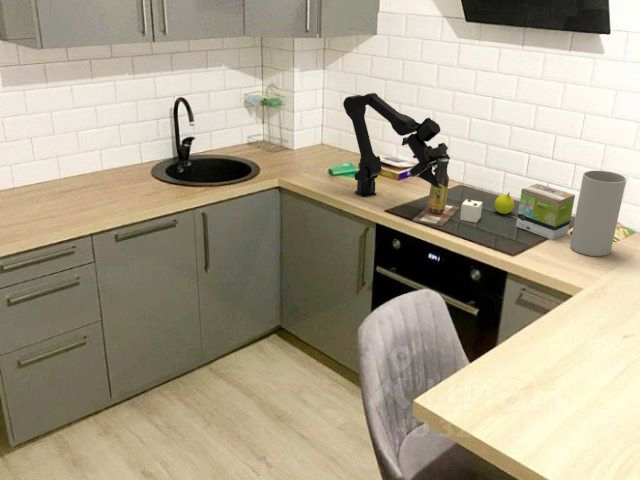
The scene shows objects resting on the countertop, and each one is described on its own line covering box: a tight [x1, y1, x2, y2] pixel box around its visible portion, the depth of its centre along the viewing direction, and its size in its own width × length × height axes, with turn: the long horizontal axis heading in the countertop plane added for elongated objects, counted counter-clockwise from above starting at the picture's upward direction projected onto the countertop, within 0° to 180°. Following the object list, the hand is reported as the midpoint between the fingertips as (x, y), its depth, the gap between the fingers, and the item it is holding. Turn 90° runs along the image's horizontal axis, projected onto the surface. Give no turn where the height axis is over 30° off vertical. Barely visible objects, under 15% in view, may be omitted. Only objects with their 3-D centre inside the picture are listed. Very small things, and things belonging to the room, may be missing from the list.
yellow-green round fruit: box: [494, 191, 515, 215], centre depth 237 cm, size 7×7×10 cm
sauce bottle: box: [427, 158, 450, 213], centre depth 232 cm, size 6×6×20 cm
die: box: [459, 198, 484, 223], centre depth 232 cm, size 6×6×7 cm
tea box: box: [515, 183, 576, 241], centre depth 221 cm, size 15×10×15 cm
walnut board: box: [412, 204, 460, 228], centre depth 236 cm, size 21×11×1 cm, turn 152°
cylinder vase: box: [569, 170, 627, 257], centre depth 205 cm, size 12×12×25 cm
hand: (442, 184), depth 231 cm, fingers closed on sauce bottle, 6 cm apart
